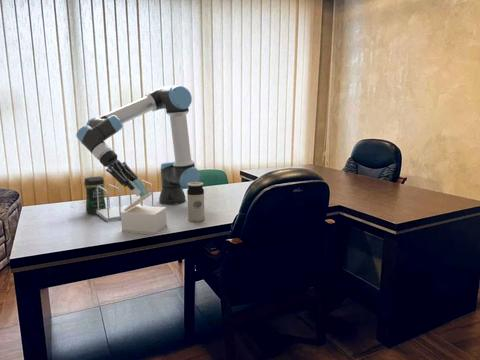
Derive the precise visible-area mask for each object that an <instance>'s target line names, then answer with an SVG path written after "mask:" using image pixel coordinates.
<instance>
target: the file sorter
mask: <svg viewBox="0 0 480 360" xmlns="http://www.w3.org/2000/svg"><path fill="white" fill-rule="evenodd" d="M140 181H141V182H142V183H143V182H144V183H145V184H149V185H150V187H151V188H150V189H151V192H153V194H151V206H153V207H154V187H153V184H152V183H151V182H148V181H146V180H144V179H140ZM98 187H99V188H101V189H103V192H105V194H106V209H100V210H99V198H98ZM109 187H111V188H115V189H116V190H117V192H118V195H117V196H118V206H113V207H111V202H110V201H111V199H110V191H109V190H110V189H109ZM126 187H127V188H128V190H129V203H130V204H127V205H122V200H121V199H122V197H121V184H120V183H119V182H118V187H117V186H115V185H113V184H110V183H108V184H107V186H106V188H107V189H105V188H102V187H100V186H97V203H98V210H96V213H95V214H97V215H98V216H100V218H102V219H103V220H104V221H106V222H113V221H114V222H115V221H117V220H118V221H119V220H121V212H122V211H124V209H126V208H127V207H129V206H130V205H131V204H133V203H132V202H133V201H132V191H131V190H130V188H129V187H128V186H126ZM139 198H141V197H140V196H139ZM138 206H148V205H147V204H145V203H143V201H142V202H140V203H139V204H138Z"/></svg>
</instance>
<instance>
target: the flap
mask: <svg viewBox="0 0 480 360" xmlns="http://www.w3.org/2000/svg"><path fill="white" fill-rule="evenodd" d="M140 180H141V179H140V178H137V179H136V180H134V181H133V183H134V184H135V186H136V187H137V188H138V189H139V190H140V191H141V193H140V194H139V195H138V196H139V198H138V199H136V201H134V202H133V203H132V204H131V205H130V204H129V205H130V206H129V207H127V208H126V209H124V211H127V210H129V209H130V208H132V207H134V206H136V205H138V204H139V203H140V202H142V203H143V201H145V200H146V199H147V198H149V197H151V196H152V194H153V195H154V191H153V192H152V191H151V192H149V191H148V189H147V188H146V186H144V184H143V181H140ZM140 197H141V198H140Z"/></svg>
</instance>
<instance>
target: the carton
mask: <svg viewBox="0 0 480 360" xmlns="http://www.w3.org/2000/svg"><path fill="white" fill-rule="evenodd" d="M120 220H121V221H120V222H121V233H130V234H140V235H150V236H151V235H152V236H156V235H157V234H158V233H159V234H160V232H162V231H163V230H164V229H165V228H166V227H168V215H167V207H164V206H154V205H153V206H152V205H147V206H138V205H136V206H134V207H132V208H130V209H129V210H127V211H122V212H121V219H120Z"/></svg>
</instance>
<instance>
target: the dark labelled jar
mask: <svg viewBox="0 0 480 360" xmlns="http://www.w3.org/2000/svg"><path fill="white" fill-rule="evenodd" d="M188 187H189V188H187V191H186V194H187V198H186V199H187V220H188V221H190V222H193V223H194V222H196V223H197V222H202V221H205V190H204V188H203V187H204V182H201V181H199V182H191V183H188Z"/></svg>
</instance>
